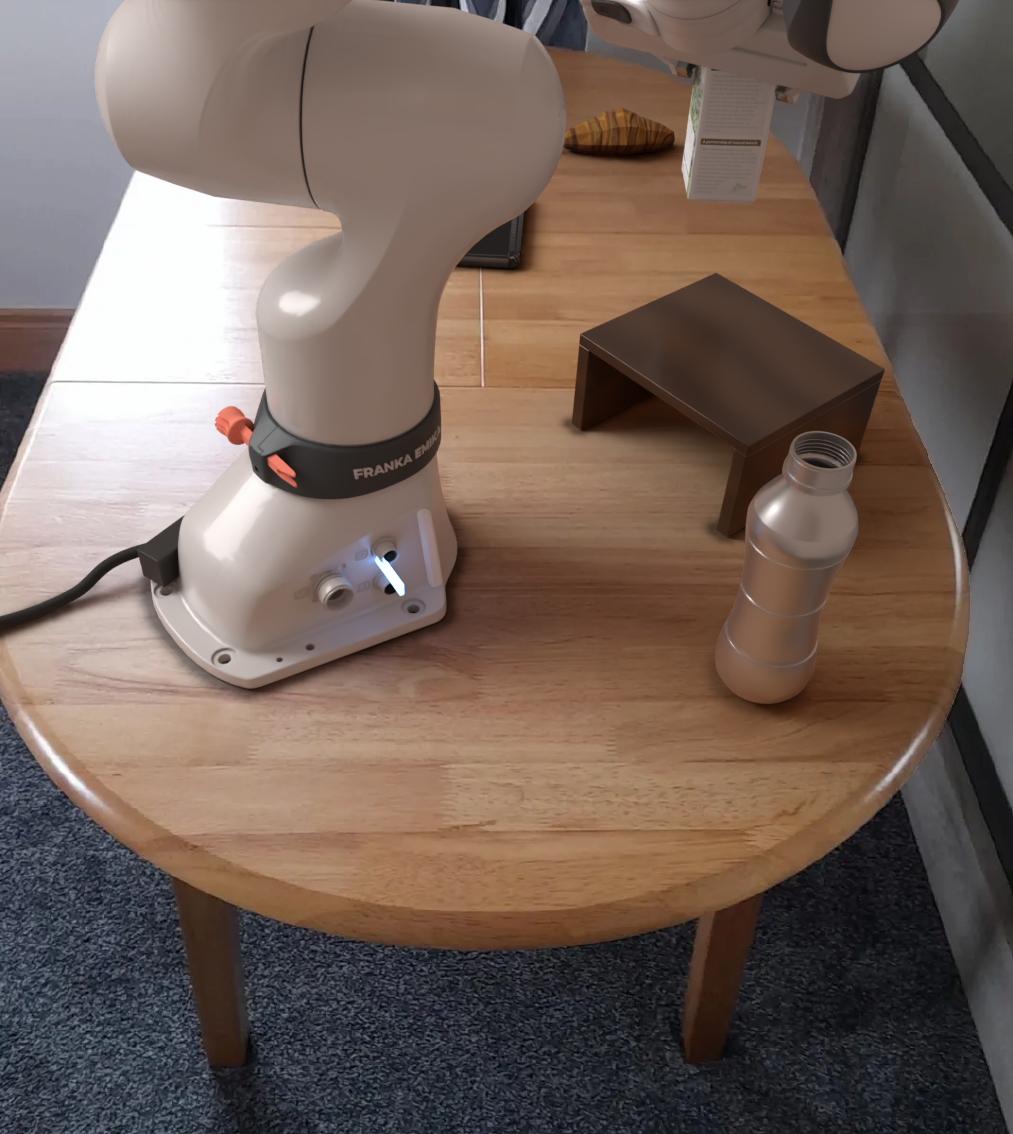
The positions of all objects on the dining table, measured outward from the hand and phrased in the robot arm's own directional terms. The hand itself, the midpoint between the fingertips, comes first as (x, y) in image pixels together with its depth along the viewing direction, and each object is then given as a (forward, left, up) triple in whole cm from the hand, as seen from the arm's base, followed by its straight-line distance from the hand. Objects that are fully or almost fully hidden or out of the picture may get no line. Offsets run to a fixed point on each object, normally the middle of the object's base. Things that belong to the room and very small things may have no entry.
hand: (736, 80), depth 90 cm
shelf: (-8, -10, -25) cm, 28 cm away
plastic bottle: (-25, -30, -25) cm, 47 cm away
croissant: (+24, +35, -25) cm, 49 cm away
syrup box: (-1, 0, -9) cm, 9 cm away
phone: (-1, +29, -25) cm, 38 cm away
